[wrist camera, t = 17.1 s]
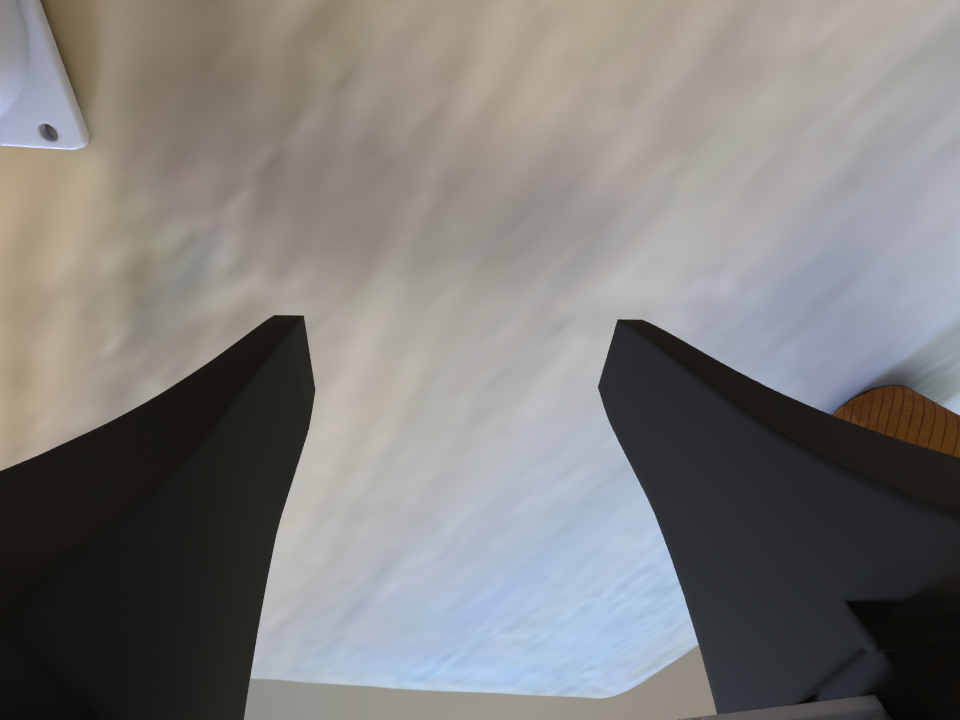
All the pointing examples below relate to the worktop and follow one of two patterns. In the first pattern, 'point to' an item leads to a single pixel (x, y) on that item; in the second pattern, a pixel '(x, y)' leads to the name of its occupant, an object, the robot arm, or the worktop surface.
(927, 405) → the disposable coffee cup
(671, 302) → the worktop surface
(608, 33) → the worktop surface
